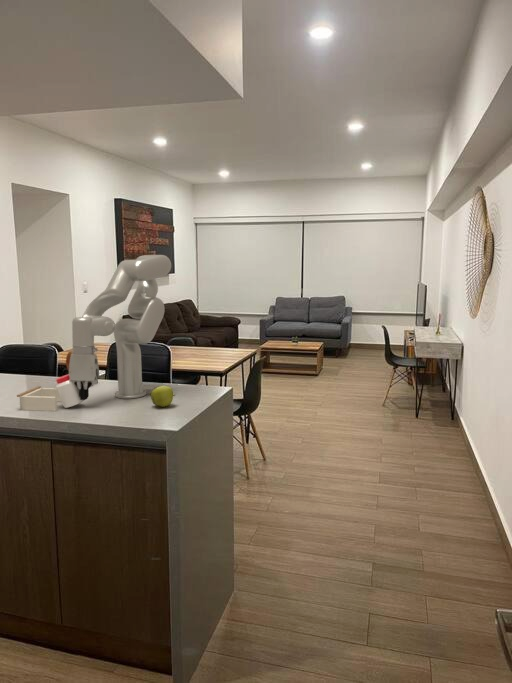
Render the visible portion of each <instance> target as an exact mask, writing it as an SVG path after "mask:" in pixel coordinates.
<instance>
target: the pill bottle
mask: <svg viewBox="0 0 512 683" xmlns="http://www.w3.org/2000/svg"><path fill="white" fill-rule="evenodd" d="M55 381H56V386H55V388H56V389H57V392H58V394H59V396H60V399H61V401H62V402H61V403H62V406H63V407H64V408H66V409H68V408H70V407H71V408H72V407H74V406H76V405H79V404H80V403H82V402H83V401H85V400H80V397H79V389H78V387H77V386H76V385H75V384H74V381H72V380H70V379H69V373H68V374H66V375H62V376H60V377H58V378H55Z"/></svg>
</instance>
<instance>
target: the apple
mask: <svg viewBox="0 0 512 683" xmlns="http://www.w3.org/2000/svg"><path fill="white" fill-rule="evenodd" d="M175 396H176V394H175V393H174V390H173V389H172V388H171V387H170V386H167V385H160V386H158V387H156V388H153V390H151V392H150V398H151V402H152V403H153V405H155V406H157V407H161V408H166V407H168V406H170V405H171V404H172V402H173V400H174V397H175ZM165 406H166V407H165Z"/></svg>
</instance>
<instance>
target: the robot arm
mask: <svg viewBox="0 0 512 683" xmlns="http://www.w3.org/2000/svg"><path fill="white" fill-rule="evenodd" d="M171 269H172V262H171V260H170V257H168V256H167V255H164V254H144V255H140V256H138V257H137V258H136V259H125V260H122V261H120V262H119V263H118V266H117V267H116V269H115V271H114V273H113V275H112V277H111V279H110V281H109V283H108V284H107V287H106V288H105V289H104V290H103V291H102V292H101V293H99V295H97V297H95V298H94V299H93V300H92V301H90V303H89V304H88V305H87V306H86V308H85V311H84V313H83V314H82V317H81V316H77V317H74V318H72V321H71V323H72V324H71V325H72V326H71V328H72V329H71V330H72V334H71V335H72V336H71V337H72V351H73V354H71V357H70V363H69V372H68V374H69V379H70V380H72V381H74V384H75V385H76V386H77V387H78V389H79V397H80V400H84V401H86V400H87V399H88V398H89V394H90V393H89V389H90V387H91V386H94V385H97V384H99V379H100V371H99V370H100V368H99V360H98V356H97V353H96V352H98V351H99V350H98V347H95V336H98V337H108V336H111V335H112V334H113V335H114V336H113V337H114V341H115V345H116V358H117V359H116V360H117V362H116V363H117V364H116V365H117V388H118V391H115V392H114V397H115V398H118V399H127V400H128V399H139V398H142V397H145V396H146V395H147V391H153V390H154V385H150V384H147V385H145V384H144V383H143V375H142V374H143V373H142V371H143V370H142V352H141V347H140V345H139V344H141V345H145V344H148V343H150V342H151V341H153V339H154V337H155V335H156V333H157V331H158V328H159V327H160V325H161V322H162V320H163V318H164V315H165V304H164V301H163V300H162V299H161V298H159V297H157V294H158V292H159V286H158V282H157V279H159V278H161V277H165V276H167V275H168V274H169V273H170V272H171ZM135 282H138V284H137V287H136V289H135V292H134V294H133V296H132V298H131V300H130V301H129V304H128V306H127V314H128V316H130V317H131V318H123V319H119V320H117V322H116V323H115V321H114V320H113V319H112V318H110V317H108V316H103V315H104V314H105V313H106V311H108V310H110V309H111V308H113V307H116V306H118V305H120V304H122V303H124V302H125V301H126V300H127V298H128V296H129V294H130V293H131V290H132V288H133V286H134V284H135ZM83 381H85V383H84V384H83Z"/></svg>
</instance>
